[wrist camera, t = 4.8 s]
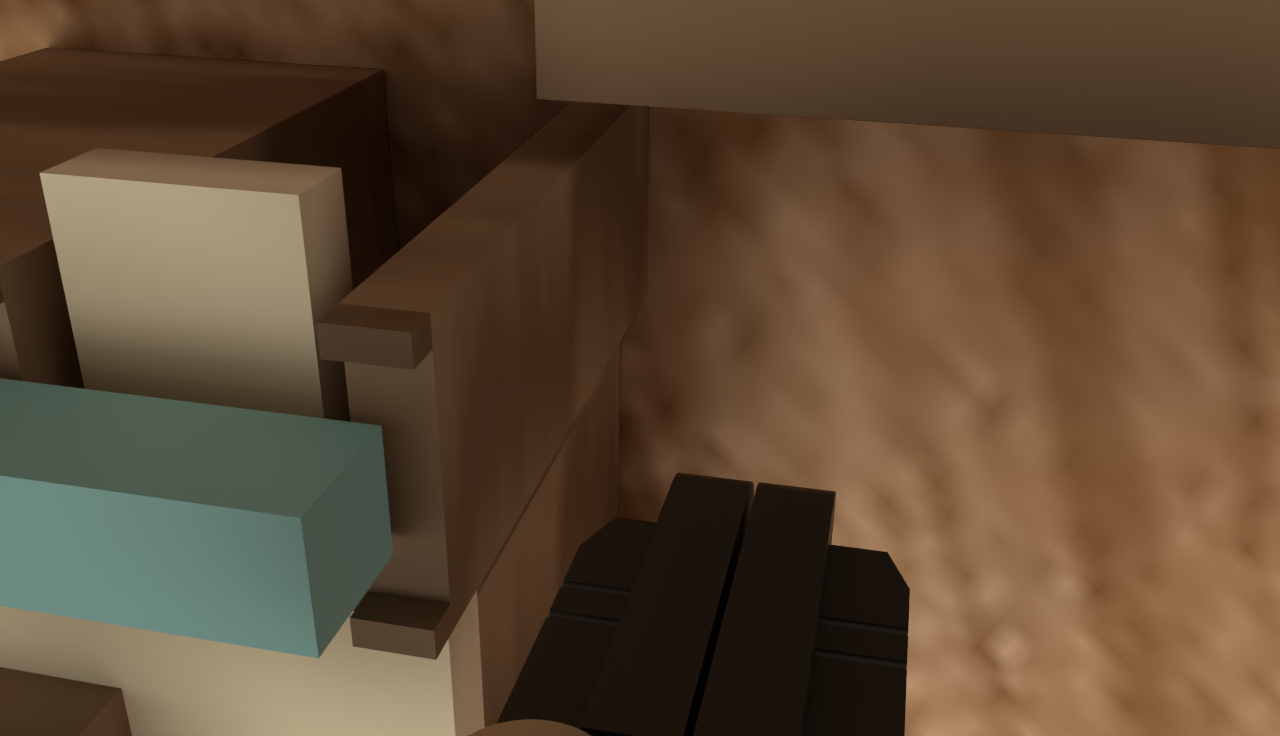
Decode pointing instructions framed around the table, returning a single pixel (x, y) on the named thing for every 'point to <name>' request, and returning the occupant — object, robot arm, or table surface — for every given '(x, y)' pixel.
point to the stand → (932, 62)
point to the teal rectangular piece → (188, 515)
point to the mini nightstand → (394, 314)
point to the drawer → (226, 376)
